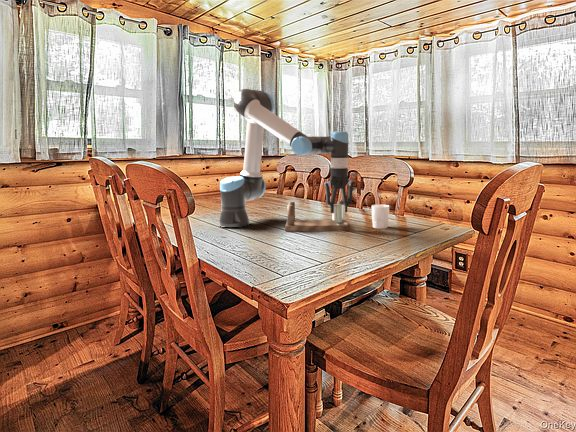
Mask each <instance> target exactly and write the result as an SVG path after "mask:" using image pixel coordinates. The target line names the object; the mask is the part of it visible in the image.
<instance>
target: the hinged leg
mask: <svg viewBox="0 0 576 432" xmlns="http://www.w3.org/2000/svg"><path fill="white" fill-rule="evenodd" d="M334 205H335V206H336V221H335V222H336V223H338V224H340V223H341V222H342V221H343V220H342V204H337V203H334Z"/></svg>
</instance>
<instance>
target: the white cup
mask: <svg viewBox="0 0 576 432" xmlns="http://www.w3.org/2000/svg"><path fill="white" fill-rule="evenodd" d="M389 215H390V205H389V204H382V203H381V204H380V203H379V204H372V205H371V219H372V220H371V223H372V228H374V229H377V230H378V229H381V230H383V229H387V228H389V218H390V217H389Z"/></svg>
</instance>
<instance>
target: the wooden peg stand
mask: <svg viewBox="0 0 576 432" xmlns="http://www.w3.org/2000/svg"><path fill="white" fill-rule="evenodd" d="M336 204H342V205H344V204H343V200H337V202H336ZM295 207H296V203H295V201H288V204H287V208H286V209H287V210H286V211H287V212H286V213H287V219H286V223H285V226H284V227H285V232H286V233H287V232H288V233H289V232H336V231H338V232H339V231H344V232H345V231H346V232H347V231H349V224H348V222H347V220H346V218H345V220H343V221H342V222H341V223H340V224H338V223H336V222H335V221H334V220H332V219H331V218H330V219H296V208H295Z"/></svg>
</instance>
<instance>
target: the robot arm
mask: <svg viewBox="0 0 576 432" xmlns="http://www.w3.org/2000/svg"><path fill="white" fill-rule="evenodd" d="M233 107H234V109H235V110H236V112H237V113H239V114H240V115H241V116H242V117H244V119H245V121H246V134H245V144H244V146H245V148H244V157H243V159H244V160H243V167H242V169H243V170H242V171H241V172H240V173H239V176H238V175H236V176H235V175H234V176H229V177H225V178H223V179H221V180H220V182H219V191H220V203H221V204H220V206H221V211H220V215H219V220H218V226H219V225H221V226H225V227H240V228H243V227H242V226H245V227H248V226H250V225H251V220H250V218H249V215H248V211H247V209H246V202H248V201H249V202H250V201H255V200H257V199H261V197H262V196H263V195H264V194H265V192H266V188H267V185H266V184H267V183H266V182H265V179H264V178H263V174H262V172H261V167H262V166H261V165H262V158H263V157H262V156H263V148H264V147H263V145H264V135H265V130H266V131H268V132H269V133H270V134H272V135H273V136H274V137H276V138H278V139H279V140H280V141H282V142H283V143H285V144H286V145H288V146H289V147H290V149H291V151H292V152H293V153H294V154H295V155H298V156H309V155H317V154H321V155H322V154H326V155H330V167H331V168H330V179H329V181H327V182H324V183H323V185H324V188H325V202H326V205H328V206H330V209H329V210H330V211H329V212H330V213H331V214H332V215H331V216H332V217H331V218H332V220H334V221H336V206H335V204H336V203H335V202H336V198H337V197H336V196H337V192H338V190H339V189H340V191H341V198H342V201H343V204H344V205H342V220H345V219H346V213H348V206H349V205H351V204H352V200H353V189H354V188H353V187H354V185H355V182H354V181H350V179H349V178H348V176H349V169H348V166H349V143H350V141H349V133H348V132H347V131H331V132H330V136H329V135H327V136H317V135H316V136H315V135H313V136H309V135H306V134H305V133H304V132H301V131H300V130H299V129H297V128H296V127H294V126H293V125H292V124H290V123H289V122H287V121H286V120H284V119H282V118H281V117H279V116H278V115H276V114H275V113H274V109H275V102H274V99H273V96H271V94H269V93H268V92H266V91H262V90H257V89H252V88H251V89H250V88H243V89H240V90H239V91H237V92H236V93H235V94H234V98H233ZM347 185H348V188H347V192H346V186H347ZM330 186H332V191H331V190H330ZM249 224H250V225H249ZM247 225H248V226H247Z"/></svg>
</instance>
